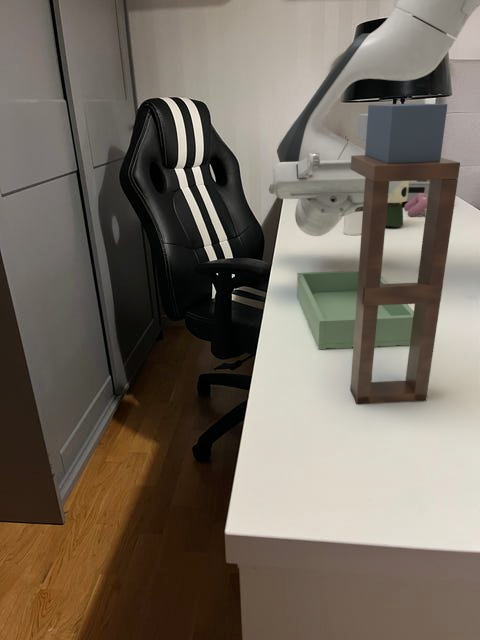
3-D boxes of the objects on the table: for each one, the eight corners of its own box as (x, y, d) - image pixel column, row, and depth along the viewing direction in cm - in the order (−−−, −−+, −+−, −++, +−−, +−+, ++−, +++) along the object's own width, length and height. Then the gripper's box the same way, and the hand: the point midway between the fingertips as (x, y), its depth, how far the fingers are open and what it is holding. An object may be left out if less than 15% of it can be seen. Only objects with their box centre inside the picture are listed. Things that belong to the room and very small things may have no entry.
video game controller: (420, 222, 141) (435, 200, 138) (406, 215, 141) (420, 192, 138) (415, 215, 150) (429, 194, 147) (402, 208, 150) (415, 187, 147)
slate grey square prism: (387, 147, 62) (391, 103, 60) (440, 161, 47) (447, 104, 45) (347, 148, 62) (349, 104, 60) (387, 163, 47) (392, 105, 45)
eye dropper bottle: (344, 230, 129) (347, 183, 124) (367, 232, 127) (370, 183, 123) (342, 234, 125) (344, 186, 121) (365, 236, 124) (368, 186, 119)
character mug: (401, 232, 126) (407, 179, 121) (373, 230, 129) (377, 178, 124) (406, 222, 135) (412, 173, 130) (379, 221, 138) (384, 172, 133)
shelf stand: (399, 362, 65) (424, 153, 54) (426, 400, 57) (460, 162, 46) (338, 365, 65) (351, 155, 54) (356, 404, 57) (375, 165, 46)
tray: (373, 292, 88) (375, 269, 86) (415, 345, 69) (419, 316, 68) (296, 296, 88) (297, 272, 86) (318, 349, 69) (319, 321, 67)
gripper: (267, 176, 85) (274, 138, 72) (385, 172, 86) (415, 133, 72) (268, 212, 85) (276, 180, 71) (388, 207, 85) (418, 175, 72)
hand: (347, 156), depth 72 cm, fingers open, 8 cm apart
